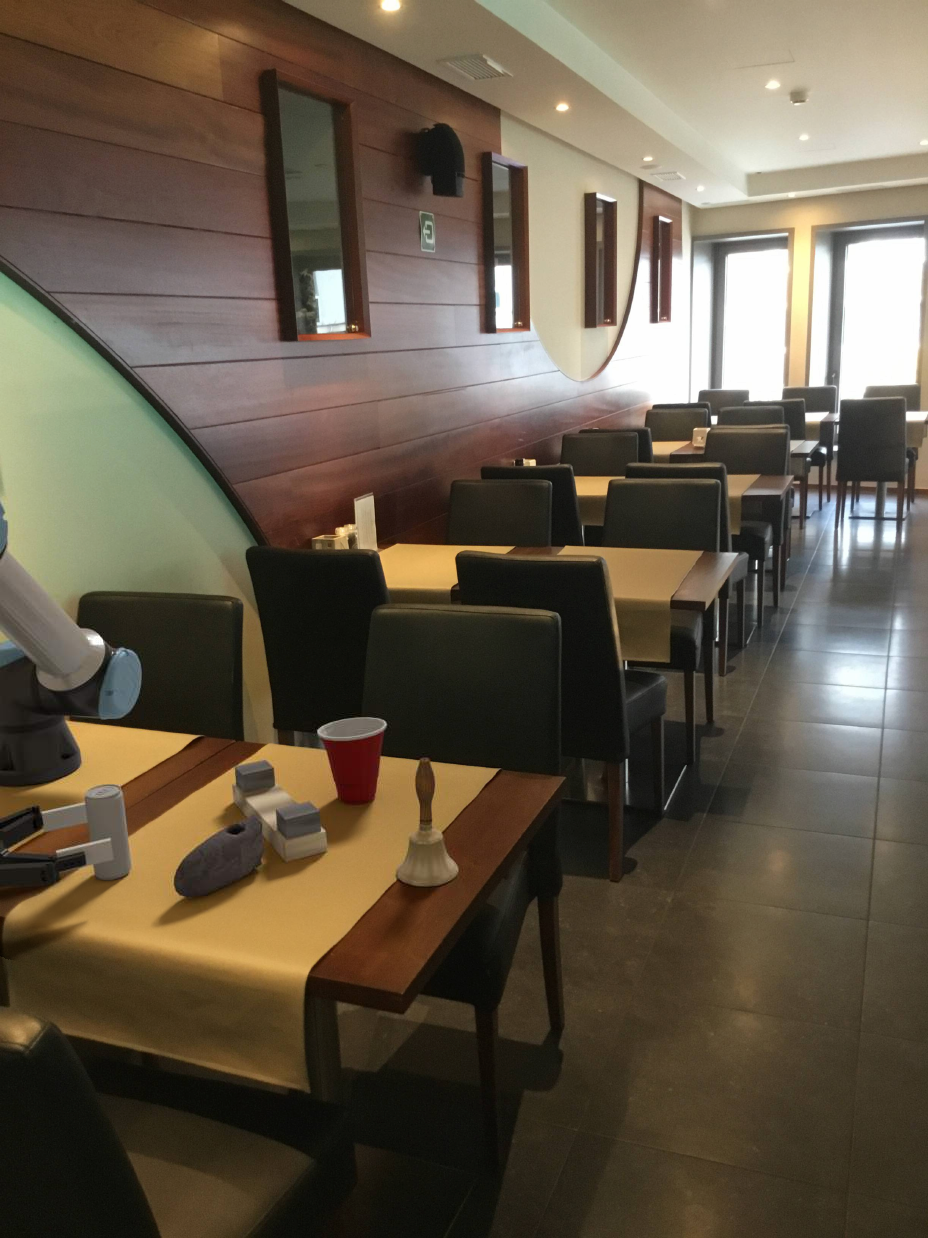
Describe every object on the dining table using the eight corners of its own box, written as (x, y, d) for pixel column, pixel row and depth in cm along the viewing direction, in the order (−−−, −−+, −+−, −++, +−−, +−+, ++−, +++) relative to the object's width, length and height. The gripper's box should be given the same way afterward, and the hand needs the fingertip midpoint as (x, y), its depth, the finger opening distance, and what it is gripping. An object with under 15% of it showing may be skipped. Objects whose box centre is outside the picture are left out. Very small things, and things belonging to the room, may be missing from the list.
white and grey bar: (233, 801, 158) (230, 766, 156) (270, 793, 161) (267, 758, 159) (286, 862, 137) (283, 821, 136) (327, 851, 140) (324, 811, 139)
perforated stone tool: (189, 913, 125) (183, 862, 124) (163, 901, 128) (157, 851, 127) (279, 865, 137) (275, 818, 135) (254, 855, 140) (249, 809, 138)
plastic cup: (361, 778, 166) (357, 708, 163) (404, 795, 158) (401, 723, 155) (307, 798, 158) (302, 726, 155) (350, 817, 151) (345, 742, 148)
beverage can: (139, 869, 137) (130, 787, 134) (112, 885, 133) (102, 800, 130) (114, 862, 139) (104, 781, 136) (86, 877, 135) (75, 794, 132)
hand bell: (435, 851, 139) (430, 743, 135) (471, 874, 133) (467, 760, 129) (384, 870, 134) (378, 758, 131) (419, 894, 128) (413, 777, 124)
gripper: (-76, 858, 135) (89, 821, 145) (-69, 945, 114) (124, 894, 124) (-85, 806, 133) (82, 772, 143) (-80, 885, 112) (117, 838, 122)
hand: (102, 829), depth 134 cm, fingers open, 13 cm apart
